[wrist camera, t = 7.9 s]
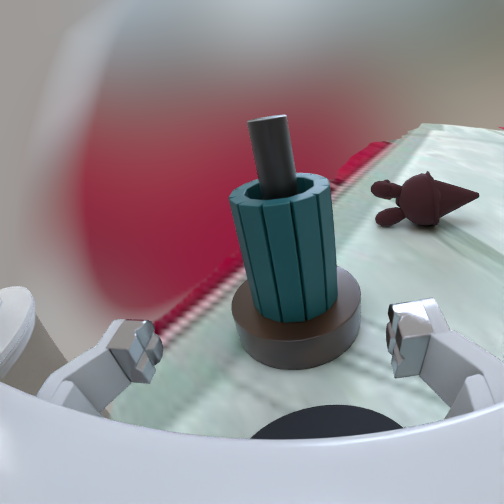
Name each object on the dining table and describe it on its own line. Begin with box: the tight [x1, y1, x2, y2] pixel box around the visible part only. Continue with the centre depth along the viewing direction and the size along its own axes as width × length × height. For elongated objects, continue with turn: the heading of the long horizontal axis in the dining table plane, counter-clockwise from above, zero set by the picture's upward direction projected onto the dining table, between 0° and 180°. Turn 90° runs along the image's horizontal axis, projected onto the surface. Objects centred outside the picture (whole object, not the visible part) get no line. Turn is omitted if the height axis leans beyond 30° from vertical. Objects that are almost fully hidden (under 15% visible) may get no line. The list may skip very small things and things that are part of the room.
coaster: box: [250, 405, 403, 440], centre depth 12 cm, size 11×11×1 cm
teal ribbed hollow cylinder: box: [229, 173, 338, 323], centre depth 21 cm, size 6×6×8 cm
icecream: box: [371, 171, 479, 226], centre depth 33 cm, size 7×7×15 cm
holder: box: [232, 115, 361, 370], centre depth 21 cm, size 10×10×16 cm
